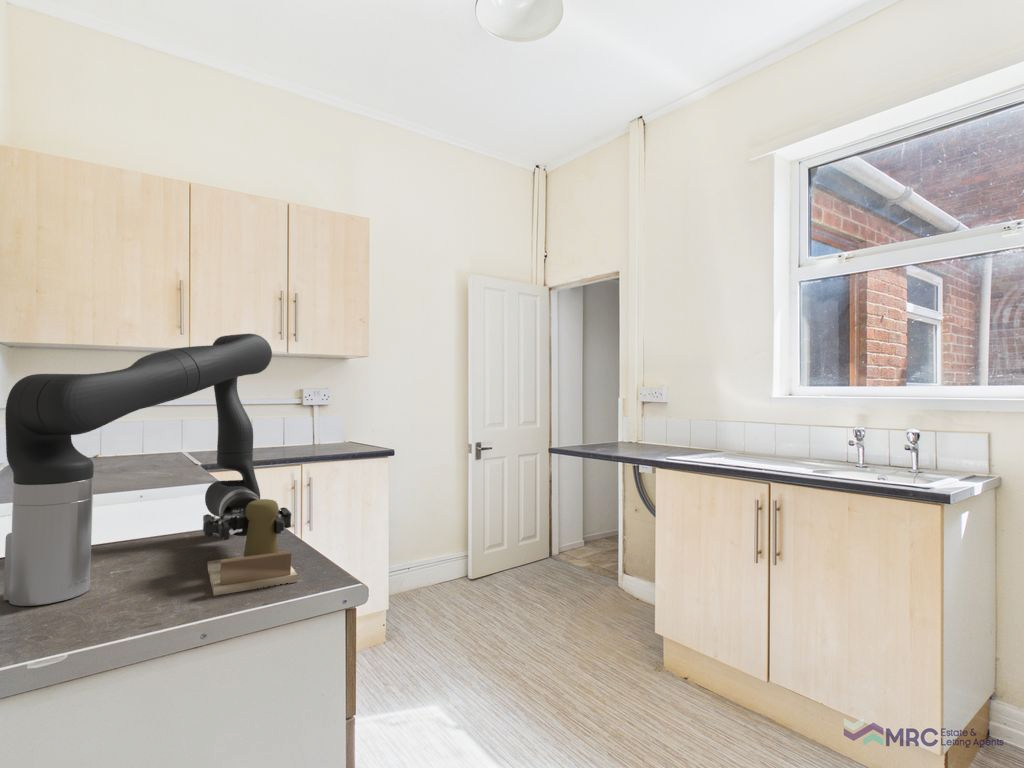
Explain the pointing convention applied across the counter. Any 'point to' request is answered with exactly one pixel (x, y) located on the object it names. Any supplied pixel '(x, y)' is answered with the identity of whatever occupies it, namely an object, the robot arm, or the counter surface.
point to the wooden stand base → (250, 572)
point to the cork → (261, 528)
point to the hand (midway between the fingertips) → (253, 530)
